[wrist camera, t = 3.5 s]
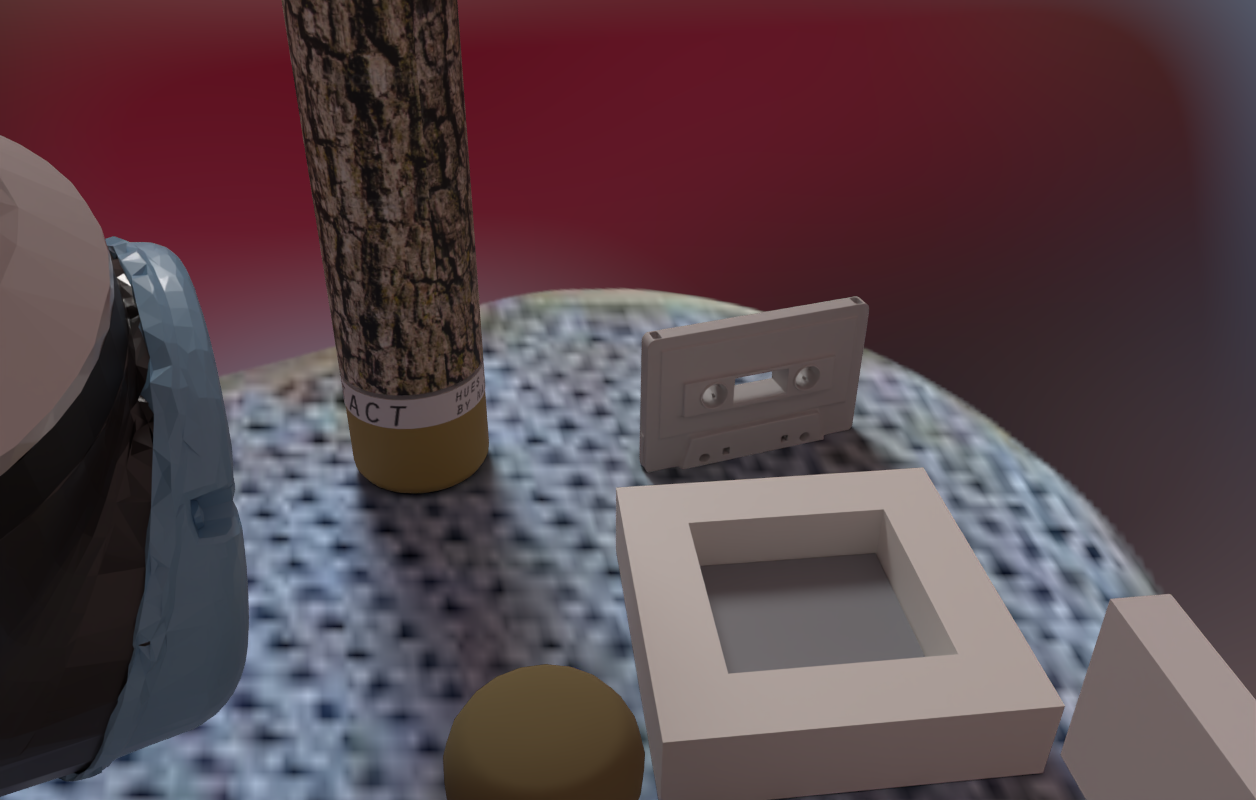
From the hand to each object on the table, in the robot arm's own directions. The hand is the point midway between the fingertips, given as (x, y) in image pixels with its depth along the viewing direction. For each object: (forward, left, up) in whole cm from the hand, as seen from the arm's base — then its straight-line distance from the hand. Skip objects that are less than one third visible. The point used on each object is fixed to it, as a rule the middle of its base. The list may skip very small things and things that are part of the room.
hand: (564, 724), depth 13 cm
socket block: (+11, +22, -22) cm, 33 cm away
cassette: (+12, +37, -22) cm, 44 cm away
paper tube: (-5, +37, -22) cm, 44 cm away
